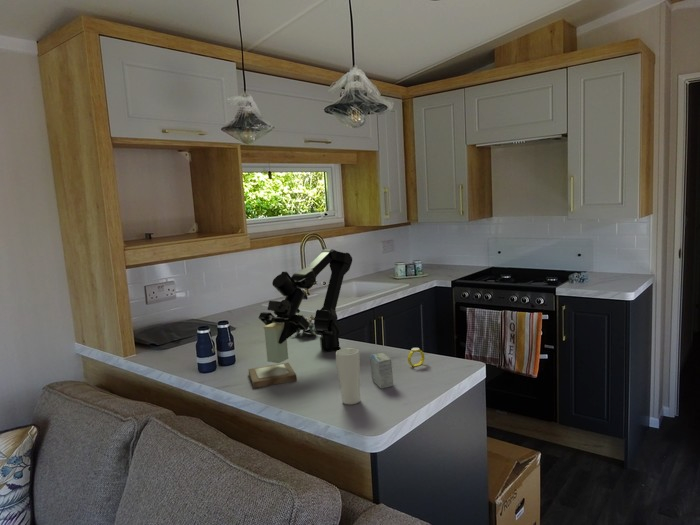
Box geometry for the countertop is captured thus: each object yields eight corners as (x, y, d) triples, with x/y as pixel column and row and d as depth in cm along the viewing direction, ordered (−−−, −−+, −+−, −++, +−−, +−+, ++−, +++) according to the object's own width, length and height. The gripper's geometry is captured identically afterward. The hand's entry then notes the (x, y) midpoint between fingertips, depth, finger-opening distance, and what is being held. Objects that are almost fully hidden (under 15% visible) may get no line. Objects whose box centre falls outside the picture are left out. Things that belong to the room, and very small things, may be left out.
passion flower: (314, 347, 228) (320, 328, 220) (289, 346, 224) (295, 327, 217) (311, 327, 236) (317, 309, 229) (287, 327, 233) (292, 307, 225)
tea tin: (277, 356, 184) (274, 322, 182) (289, 358, 181) (285, 323, 179) (266, 361, 180) (263, 326, 178) (278, 363, 177) (275, 327, 175)
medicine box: (393, 386, 162) (392, 359, 161) (380, 389, 161) (378, 361, 159) (384, 378, 169) (383, 352, 168) (371, 380, 168) (369, 354, 167)
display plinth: (288, 367, 187) (288, 361, 186) (296, 380, 173) (296, 373, 173) (249, 374, 183) (248, 368, 183) (253, 388, 170) (253, 381, 169)
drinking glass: (336, 405, 151) (331, 354, 149) (344, 396, 157) (340, 347, 155) (358, 407, 148) (354, 355, 146) (366, 397, 155) (362, 348, 153)
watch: (412, 369, 176) (410, 352, 175) (407, 367, 179) (405, 350, 178) (426, 364, 179) (424, 347, 178) (421, 362, 182) (419, 345, 181)
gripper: (259, 289, 186) (239, 328, 178) (300, 291, 175) (281, 333, 168) (276, 306, 193) (258, 344, 186) (317, 309, 183) (299, 349, 175)
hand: (273, 342), depth 178 cm, fingers closed on tea tin, 5 cm apart
